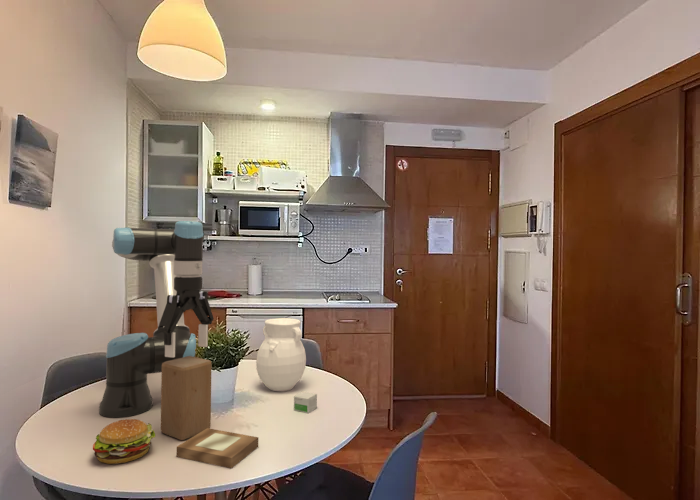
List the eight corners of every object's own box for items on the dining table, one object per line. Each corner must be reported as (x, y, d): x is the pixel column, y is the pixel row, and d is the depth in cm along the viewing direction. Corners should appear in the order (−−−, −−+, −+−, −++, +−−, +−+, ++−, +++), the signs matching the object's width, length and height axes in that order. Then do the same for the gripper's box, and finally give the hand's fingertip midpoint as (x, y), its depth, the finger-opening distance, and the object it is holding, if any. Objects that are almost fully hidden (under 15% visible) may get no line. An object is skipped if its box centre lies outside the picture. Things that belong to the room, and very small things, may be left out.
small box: (293, 410, 140) (293, 395, 140) (302, 405, 145) (302, 390, 145) (308, 414, 138) (308, 398, 138) (317, 408, 143) (317, 393, 143)
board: (176, 456, 108) (176, 446, 108) (207, 437, 120) (207, 427, 119) (231, 468, 103) (231, 457, 103) (258, 446, 114) (258, 436, 114)
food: (149, 464, 104) (149, 431, 104) (84, 469, 101) (85, 435, 101) (161, 439, 118) (162, 410, 118) (104, 443, 115) (105, 413, 115)
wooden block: (182, 442, 116) (183, 367, 116) (159, 433, 121) (160, 361, 121) (212, 429, 125) (213, 359, 125) (189, 421, 130) (190, 354, 130)
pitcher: (315, 385, 166) (316, 319, 166) (283, 398, 151) (284, 326, 151) (278, 376, 176) (279, 315, 176) (245, 388, 161) (246, 321, 161)
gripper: (167, 279, 110) (165, 363, 110) (226, 274, 133) (225, 343, 133) (143, 278, 112) (142, 360, 112) (205, 273, 136) (204, 341, 136)
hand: (187, 351), depth 123 cm, fingers open, 13 cm apart
